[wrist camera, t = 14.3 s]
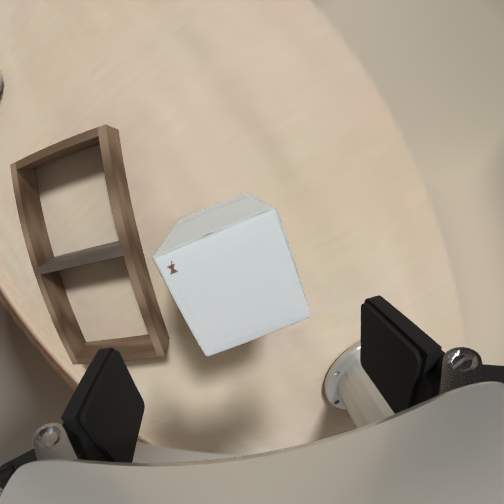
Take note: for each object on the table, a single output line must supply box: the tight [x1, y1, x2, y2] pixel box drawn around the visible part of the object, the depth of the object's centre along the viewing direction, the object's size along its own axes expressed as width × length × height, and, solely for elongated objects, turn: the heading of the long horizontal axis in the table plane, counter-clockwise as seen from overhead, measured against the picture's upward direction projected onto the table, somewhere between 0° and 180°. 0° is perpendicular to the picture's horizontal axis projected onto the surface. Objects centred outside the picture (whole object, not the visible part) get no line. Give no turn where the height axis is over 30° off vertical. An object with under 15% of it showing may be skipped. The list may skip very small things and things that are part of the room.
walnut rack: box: [10, 125, 169, 364], centre depth 25 cm, size 22×12×4 cm, turn 10°
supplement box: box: [153, 192, 311, 356], centre depth 22 cm, size 7×7×13 cm
